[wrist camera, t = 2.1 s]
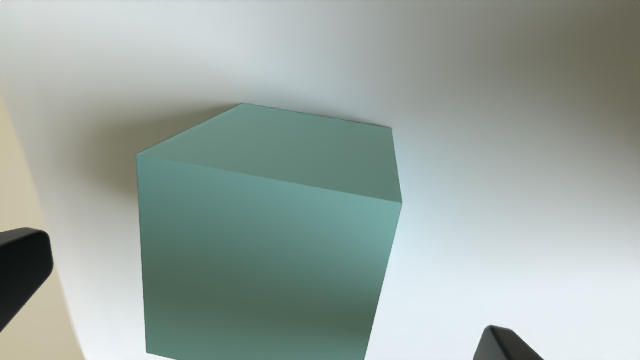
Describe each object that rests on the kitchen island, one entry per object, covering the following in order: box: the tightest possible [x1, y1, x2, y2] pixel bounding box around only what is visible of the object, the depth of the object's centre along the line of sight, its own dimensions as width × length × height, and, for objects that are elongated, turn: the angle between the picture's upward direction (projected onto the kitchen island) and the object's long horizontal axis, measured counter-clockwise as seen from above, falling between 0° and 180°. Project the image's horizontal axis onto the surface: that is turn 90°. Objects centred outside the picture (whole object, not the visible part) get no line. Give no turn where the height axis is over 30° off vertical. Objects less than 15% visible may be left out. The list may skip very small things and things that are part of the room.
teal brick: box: [136, 103, 402, 360], centre depth 10 cm, size 5×5×6 cm
